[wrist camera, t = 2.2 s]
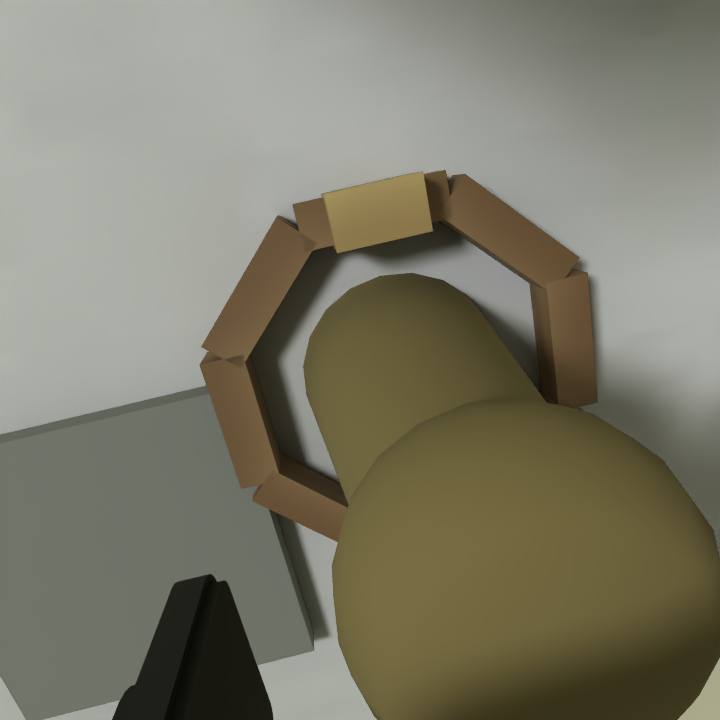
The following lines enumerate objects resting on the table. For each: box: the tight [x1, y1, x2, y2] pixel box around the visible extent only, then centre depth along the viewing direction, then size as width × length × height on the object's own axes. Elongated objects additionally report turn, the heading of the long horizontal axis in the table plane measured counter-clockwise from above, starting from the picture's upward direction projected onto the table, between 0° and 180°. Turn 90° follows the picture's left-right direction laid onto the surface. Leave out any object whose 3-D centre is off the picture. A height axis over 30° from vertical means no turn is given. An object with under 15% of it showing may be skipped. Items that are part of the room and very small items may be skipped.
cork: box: [303, 273, 720, 720], centre depth 11 cm, size 6×6×11 cm
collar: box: [200, 170, 597, 542], centre depth 15 cm, size 11×11×2 cm
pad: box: [0, 386, 314, 720], centre depth 17 cm, size 10×10×1 cm
